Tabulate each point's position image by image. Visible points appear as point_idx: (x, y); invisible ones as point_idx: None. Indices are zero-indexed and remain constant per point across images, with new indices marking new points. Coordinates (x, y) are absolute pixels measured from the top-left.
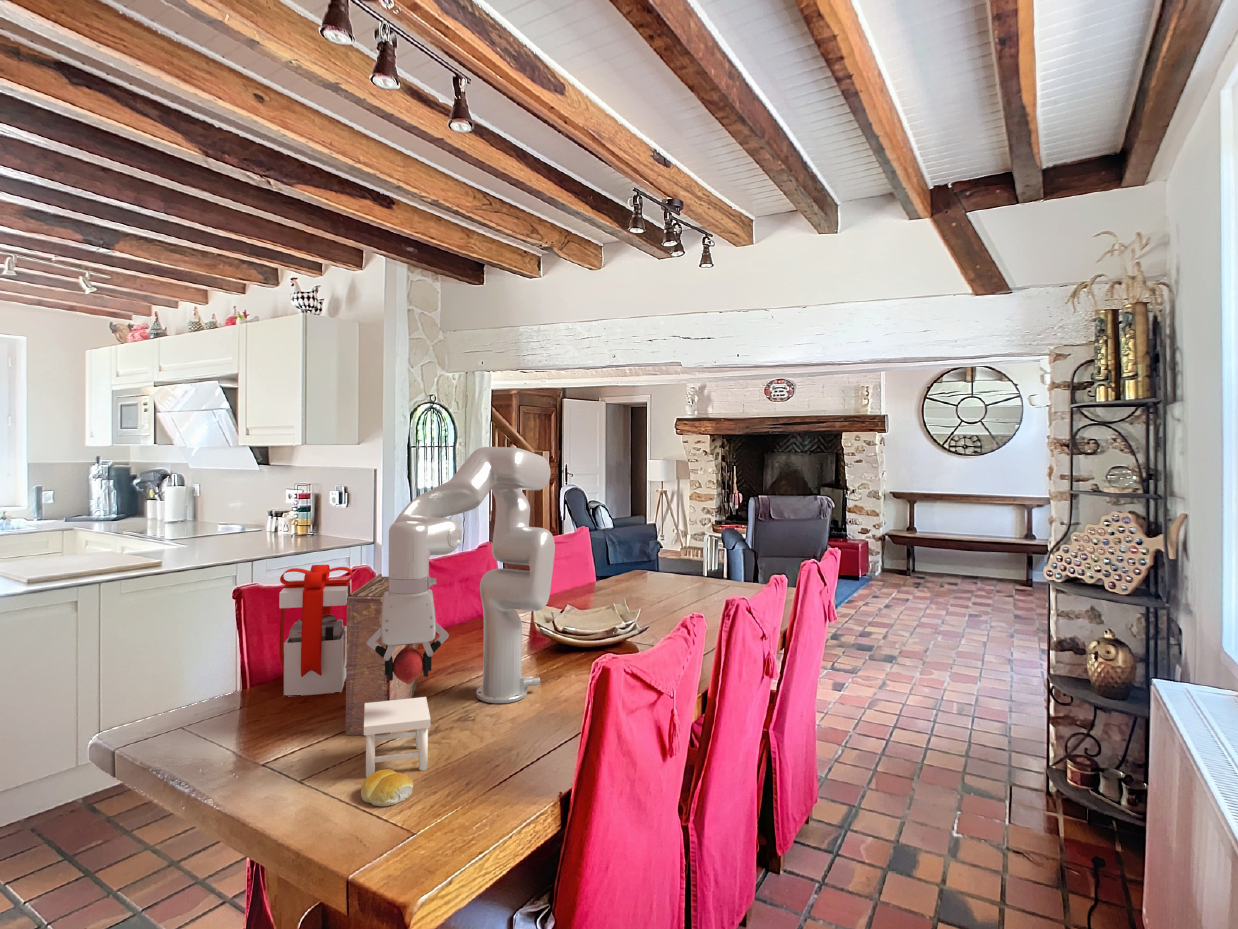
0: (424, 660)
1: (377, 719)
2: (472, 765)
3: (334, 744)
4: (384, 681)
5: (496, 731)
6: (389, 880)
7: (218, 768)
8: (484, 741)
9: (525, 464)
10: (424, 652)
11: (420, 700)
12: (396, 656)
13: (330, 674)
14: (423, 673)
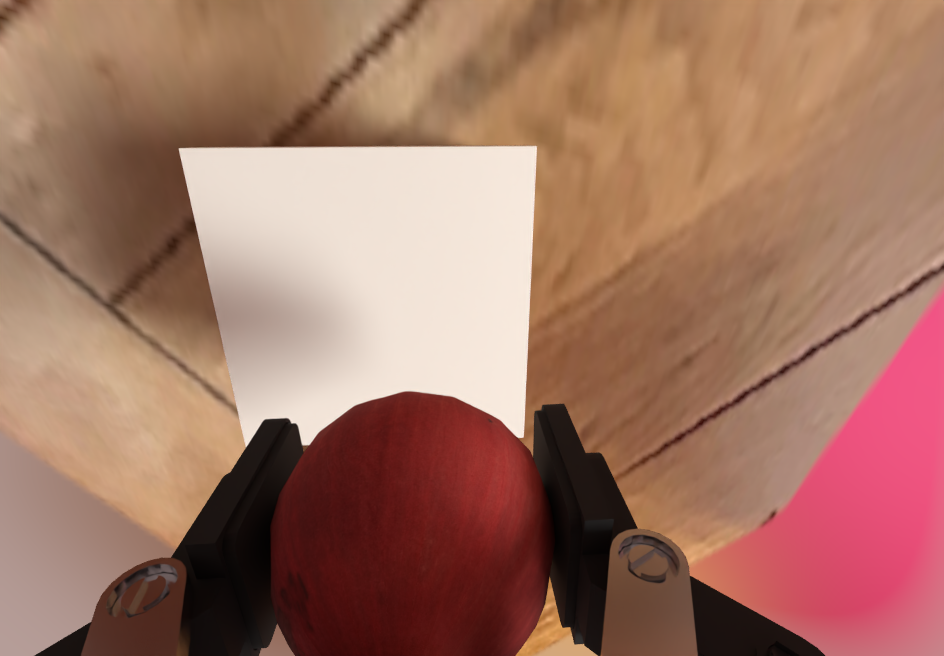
0: (558, 611)
1: (293, 388)
2: (622, 343)
3: (134, 20)
4: None
5: (782, 99)
6: None
7: None
8: (709, 181)
9: None
10: (586, 575)
11: (500, 196)
12: (284, 634)
13: None
14: (534, 450)
